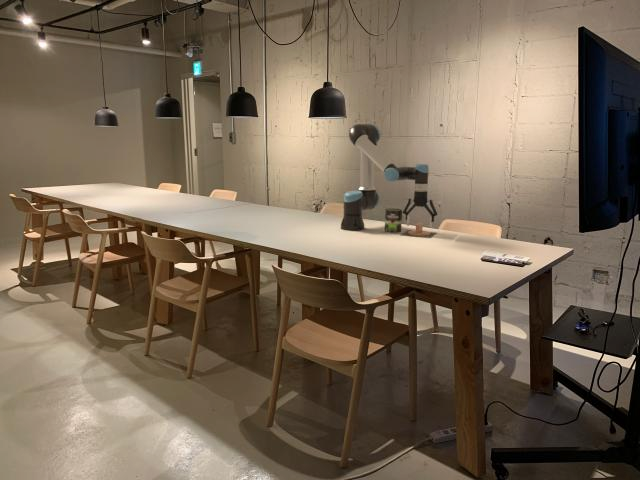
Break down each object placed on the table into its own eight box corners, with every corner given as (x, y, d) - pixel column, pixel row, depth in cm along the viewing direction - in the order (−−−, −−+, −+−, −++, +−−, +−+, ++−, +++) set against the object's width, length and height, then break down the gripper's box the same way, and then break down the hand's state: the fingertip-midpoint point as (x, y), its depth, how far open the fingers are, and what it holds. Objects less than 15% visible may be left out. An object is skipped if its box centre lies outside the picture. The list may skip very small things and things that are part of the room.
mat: (399, 236, 279) (399, 235, 279) (408, 230, 295) (408, 230, 295) (430, 239, 272) (430, 238, 272) (437, 233, 288) (437, 232, 288)
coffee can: (400, 234, 284) (401, 211, 281) (383, 233, 287) (384, 210, 284) (402, 231, 294) (403, 208, 291) (385, 230, 296) (386, 208, 293)
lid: (405, 235, 280) (405, 225, 279) (411, 231, 292) (411, 221, 291) (427, 237, 275) (427, 226, 274) (432, 233, 286) (432, 223, 285)
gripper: (398, 190, 280) (397, 225, 284) (441, 192, 269) (439, 229, 274) (402, 189, 287) (400, 223, 291) (443, 191, 276) (441, 227, 280)
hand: (419, 226), depth 282 cm, fingers open, 13 cm apart
